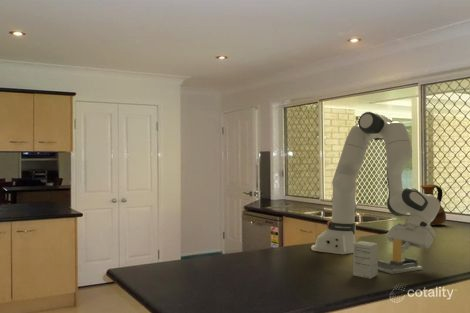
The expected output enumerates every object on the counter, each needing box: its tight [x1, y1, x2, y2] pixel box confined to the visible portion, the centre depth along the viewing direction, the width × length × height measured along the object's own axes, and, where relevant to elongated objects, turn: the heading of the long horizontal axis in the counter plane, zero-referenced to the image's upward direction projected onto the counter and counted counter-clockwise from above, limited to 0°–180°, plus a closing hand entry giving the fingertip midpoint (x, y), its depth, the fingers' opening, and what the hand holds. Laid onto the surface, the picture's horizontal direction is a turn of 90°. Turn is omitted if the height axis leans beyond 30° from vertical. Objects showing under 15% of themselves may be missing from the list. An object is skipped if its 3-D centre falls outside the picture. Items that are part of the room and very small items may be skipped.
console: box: [378, 256, 424, 275], centre depth 179 cm, size 18×10×4 cm, turn 118°
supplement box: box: [352, 240, 379, 279], centre depth 168 cm, size 7×7×13 cm
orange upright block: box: [389, 239, 403, 265], centre depth 179 cm, size 4×3×11 cm
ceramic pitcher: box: [420, 184, 447, 226], centre depth 316 cm, size 20×20×30 cm
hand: (399, 251), depth 180 cm, fingers closed, pressing on orange upright block
